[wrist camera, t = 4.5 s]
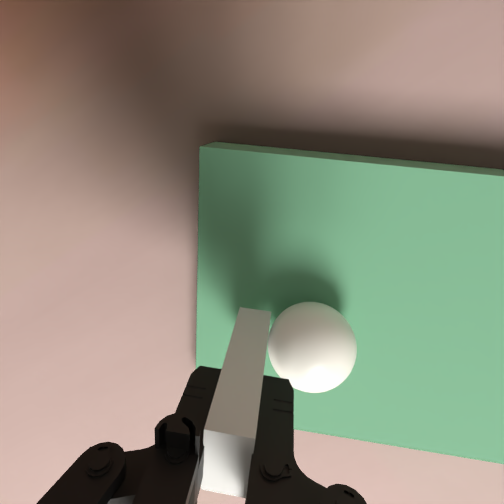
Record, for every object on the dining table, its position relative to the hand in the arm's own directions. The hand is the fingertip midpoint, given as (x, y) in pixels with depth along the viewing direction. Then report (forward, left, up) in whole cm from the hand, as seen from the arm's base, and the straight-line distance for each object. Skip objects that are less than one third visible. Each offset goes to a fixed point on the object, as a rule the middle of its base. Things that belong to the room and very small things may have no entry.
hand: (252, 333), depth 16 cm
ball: (0, +3, 0) cm, 3 cm away
